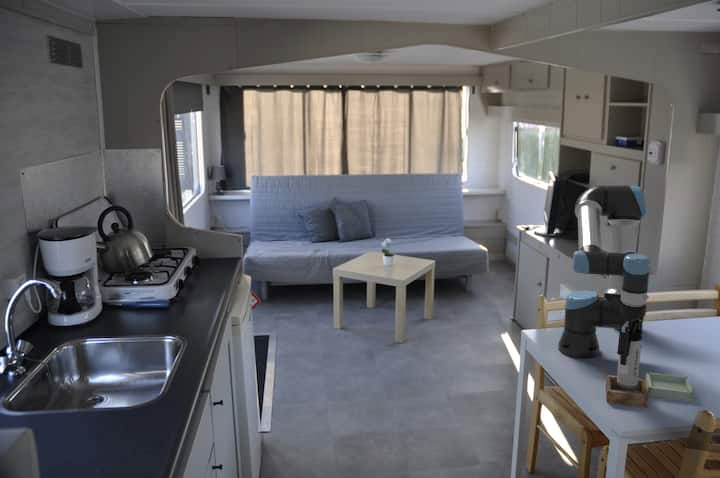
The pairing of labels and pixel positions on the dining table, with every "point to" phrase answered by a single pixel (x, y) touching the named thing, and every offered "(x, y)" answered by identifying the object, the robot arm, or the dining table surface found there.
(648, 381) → the tray
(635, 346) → the travel mug
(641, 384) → the holder
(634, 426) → the dining table surface
